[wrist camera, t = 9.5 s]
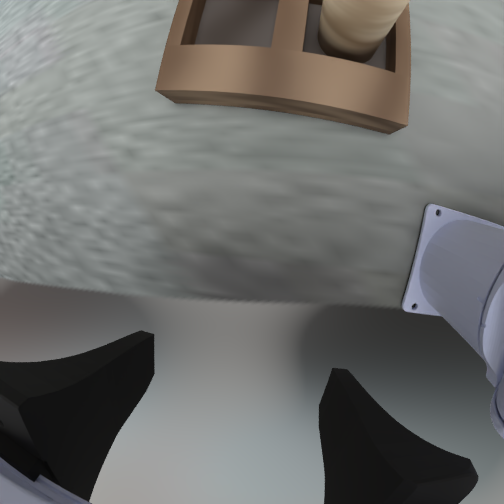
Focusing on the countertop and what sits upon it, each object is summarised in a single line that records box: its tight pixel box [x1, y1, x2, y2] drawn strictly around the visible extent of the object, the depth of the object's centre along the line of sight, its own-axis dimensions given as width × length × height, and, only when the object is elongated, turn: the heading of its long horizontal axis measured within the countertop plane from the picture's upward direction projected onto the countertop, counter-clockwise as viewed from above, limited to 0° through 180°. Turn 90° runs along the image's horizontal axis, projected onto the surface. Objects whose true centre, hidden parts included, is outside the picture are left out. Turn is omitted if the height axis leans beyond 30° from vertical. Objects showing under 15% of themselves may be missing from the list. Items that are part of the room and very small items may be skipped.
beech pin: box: [317, 0, 410, 64], centre depth 12 cm, size 4×4×8 cm
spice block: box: [155, 0, 411, 134], centre depth 15 cm, size 15×12×4 cm
